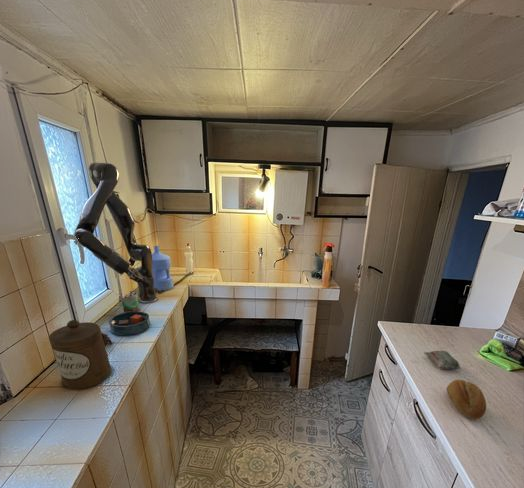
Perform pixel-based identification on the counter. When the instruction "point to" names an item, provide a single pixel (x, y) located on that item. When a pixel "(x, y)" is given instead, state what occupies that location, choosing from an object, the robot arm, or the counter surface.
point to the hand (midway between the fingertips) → (148, 284)
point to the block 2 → (136, 319)
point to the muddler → (145, 291)
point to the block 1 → (123, 323)
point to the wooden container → (80, 354)
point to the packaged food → (443, 359)
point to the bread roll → (467, 398)
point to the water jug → (161, 270)
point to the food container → (130, 302)
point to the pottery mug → (106, 339)
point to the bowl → (131, 328)
